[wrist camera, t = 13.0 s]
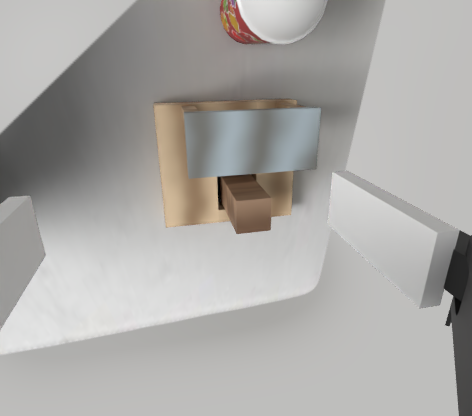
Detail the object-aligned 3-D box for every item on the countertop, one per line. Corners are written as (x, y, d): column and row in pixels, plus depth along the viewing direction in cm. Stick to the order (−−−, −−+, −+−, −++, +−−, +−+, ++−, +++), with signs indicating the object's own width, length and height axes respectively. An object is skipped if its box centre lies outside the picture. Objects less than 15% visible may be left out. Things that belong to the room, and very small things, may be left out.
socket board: (165, 218, 49) (167, 262, 38) (153, 103, 43) (152, 114, 32) (284, 207, 52) (318, 244, 41) (288, 98, 46) (330, 107, 35)
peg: (218, 171, 48) (236, 201, 37) (245, 169, 48) (271, 197, 38) (219, 197, 49) (236, 233, 38) (246, 195, 50) (270, 230, 39)
